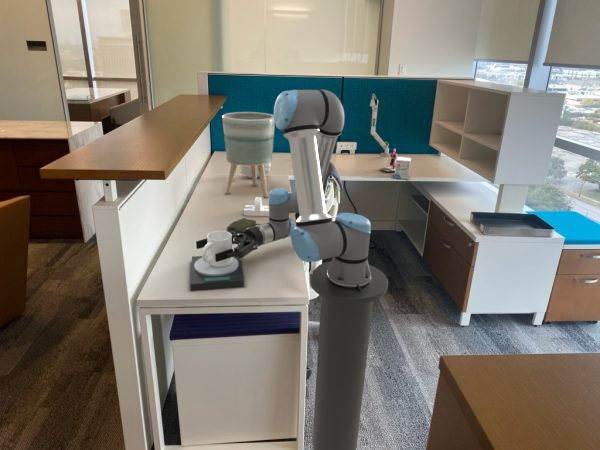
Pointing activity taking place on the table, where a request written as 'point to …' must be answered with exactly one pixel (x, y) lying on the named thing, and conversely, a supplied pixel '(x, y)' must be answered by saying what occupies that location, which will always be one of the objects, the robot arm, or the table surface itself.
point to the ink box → (402, 167)
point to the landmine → (241, 225)
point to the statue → (392, 163)
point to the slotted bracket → (256, 208)
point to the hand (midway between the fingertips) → (206, 251)
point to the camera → (247, 170)
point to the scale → (215, 275)
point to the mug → (217, 247)
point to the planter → (249, 143)
